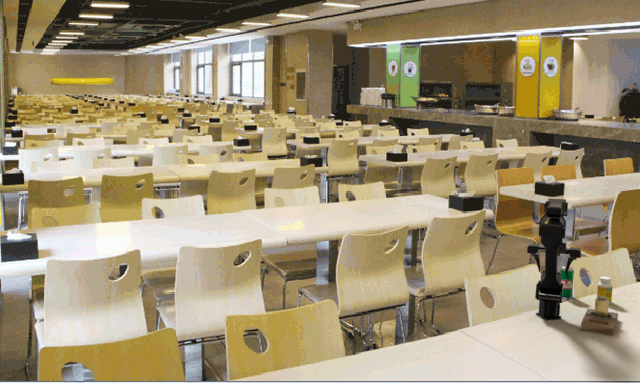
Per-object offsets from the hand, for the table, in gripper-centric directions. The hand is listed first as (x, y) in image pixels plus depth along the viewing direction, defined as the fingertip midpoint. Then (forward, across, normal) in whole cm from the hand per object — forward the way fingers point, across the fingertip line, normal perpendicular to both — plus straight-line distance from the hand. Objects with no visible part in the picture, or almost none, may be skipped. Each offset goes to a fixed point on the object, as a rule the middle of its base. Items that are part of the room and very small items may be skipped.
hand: (552, 273), depth 241 cm
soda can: (+13, +5, +17) cm, 22 cm away
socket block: (+13, +17, -15) cm, 26 cm away
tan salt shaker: (+13, +17, -11) cm, 24 cm away
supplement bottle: (+13, +19, +15) cm, 27 cm away
